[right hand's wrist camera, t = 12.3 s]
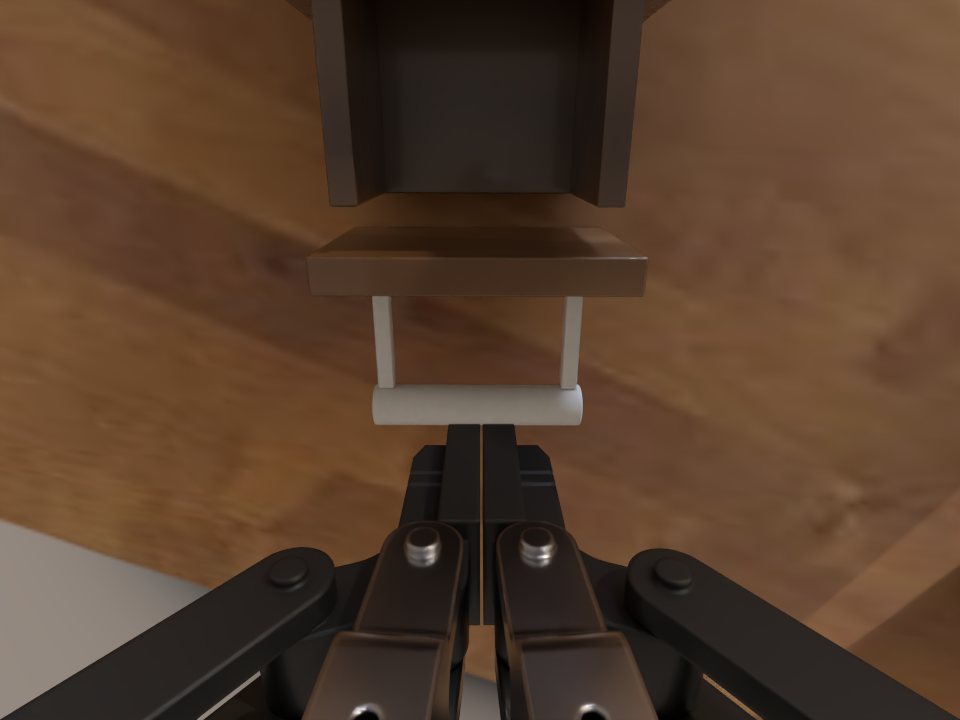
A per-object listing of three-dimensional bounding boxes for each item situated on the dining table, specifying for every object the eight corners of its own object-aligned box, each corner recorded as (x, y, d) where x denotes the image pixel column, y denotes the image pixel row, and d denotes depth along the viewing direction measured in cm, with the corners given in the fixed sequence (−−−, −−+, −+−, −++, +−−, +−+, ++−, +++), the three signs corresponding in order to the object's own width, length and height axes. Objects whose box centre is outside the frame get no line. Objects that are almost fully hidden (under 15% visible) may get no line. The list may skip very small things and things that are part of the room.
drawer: (589, 386, 25) (625, 466, 18) (366, 386, 25) (328, 465, 18) (654, -402, 16) (767, -760, 9) (303, -403, 16) (188, -761, 9)
